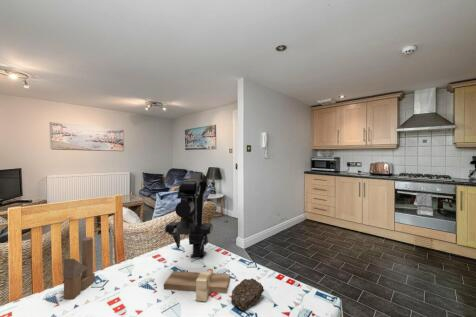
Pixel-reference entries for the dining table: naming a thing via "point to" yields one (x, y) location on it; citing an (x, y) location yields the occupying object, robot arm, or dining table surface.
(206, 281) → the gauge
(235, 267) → the dining table surface
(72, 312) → the dining table surface
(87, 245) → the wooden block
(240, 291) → the brown rock
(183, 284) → the board
